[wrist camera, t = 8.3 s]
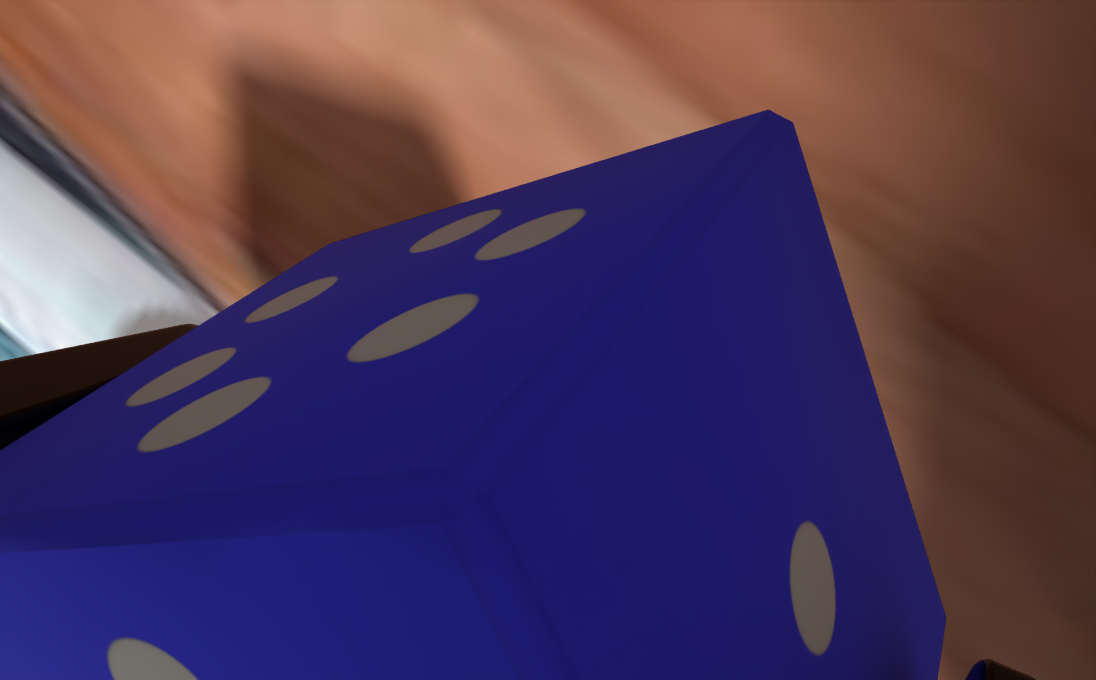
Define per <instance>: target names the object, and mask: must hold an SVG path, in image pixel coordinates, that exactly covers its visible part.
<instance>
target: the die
mask: <svg viewBox="0 0 1096 680" xmlns="http://www.w3.org/2000/svg"><path fill="white" fill-rule="evenodd" d="M945 623H946V615H945V612H944V609H943V605H942V602H941V599H940V596H939V592H938V589H937V586H936V583H935V580H934V576H933V573H932V570H931V567H930V563H929V560H928V557H927V554H926V550H925V547H924V544H923V541H922V538H921V534H920V531H919V528H918V525H917V521H916V518H915V515H914V512H913V508H912V505H911V502H910V499H909V496H908V492H907V489H906V486H905V483H904V479H903V476H902V473H901V470H900V466H899V463H898V460H897V457H896V454H895V450H894V447H893V444H892V441H891V437H890V434H889V431H888V428H887V424H886V421H885V418H884V415H883V412H882V408H881V405H880V402H879V399H878V395H877V392H876V389H875V386H874V382H873V379H872V376H871V373H870V370H869V366H868V363H867V360H866V357H865V353H864V350H863V347H862V344H861V340H860V337H859V334H858V331H857V328H856V324H855V321H854V318H853V315H852V311H851V308H850V305H849V302H848V299H847V295H846V292H845V289H844V286H843V282H842V279H841V276H840V273H839V269H838V266H837V263H836V260H835V257H834V253H833V250H832V247H831V244H830V240H829V237H828V234H827V231H826V227H825V224H824V221H823V218H822V215H821V211H820V208H819V205H818V202H817V198H816V195H815V192H814V189H813V185H812V182H811V179H810V176H809V173H808V169H807V166H806V163H805V160H804V156H803V153H802V150H801V147H800V143H799V140H798V137H797V134H796V131H795V127H794V124H793V122H791V121H789V120H787V119H785V118H783V117H782V116H780V115H778V114H776V113H774V112H772V111H770V110H766V111H762V112H759V113H756V114H752V115H749V116H746V117H743V118H739V119H736V120H733V121H730V122H726V123H723V124H720V125H716V126H713V127H710V128H707V129H703V130H700V131H697V132H694V133H690V134H687V135H684V136H680V137H677V138H674V139H671V140H667V141H664V142H661V143H658V144H654V145H651V146H648V147H644V148H641V149H638V150H635V151H631V152H628V153H625V154H621V155H618V156H615V157H612V158H608V159H605V160H602V161H599V162H595V163H592V164H589V165H585V166H582V167H579V168H576V169H572V170H569V171H566V172H563V173H559V174H556V175H553V176H549V177H546V178H543V179H540V180H536V181H533V182H530V183H527V184H523V185H520V186H517V187H513V188H510V189H507V190H504V191H500V192H497V193H494V194H491V195H487V196H484V197H481V198H477V199H474V200H471V201H468V202H464V203H461V204H458V205H454V206H451V207H448V208H445V209H441V210H438V211H435V212H432V213H428V214H425V215H422V216H418V217H415V218H412V219H409V220H405V221H402V222H399V223H396V224H392V225H389V226H386V227H382V228H379V229H376V230H373V231H369V232H366V233H363V234H360V235H356V236H353V237H350V238H346V239H343V240H340V241H337V242H333V243H330V244H328V245H327V246H325V247H323V248H322V249H320V250H319V251H317V252H315V253H314V254H312V255H311V256H309V257H307V258H306V259H304V260H303V261H301V262H299V263H298V264H296V265H295V266H293V267H292V268H290V269H288V270H287V271H285V272H284V273H282V274H280V275H279V276H277V277H276V278H274V279H272V280H271V281H269V282H268V283H266V284H264V285H263V286H261V287H260V288H258V289H256V290H255V291H253V292H252V293H250V294H249V295H247V296H245V297H244V298H242V299H241V300H239V301H237V302H236V303H234V304H233V305H231V306H229V307H228V308H226V309H225V310H223V311H221V312H220V313H218V314H217V315H215V316H214V317H212V318H210V319H209V320H207V321H206V322H204V323H202V324H201V325H199V326H198V327H196V328H194V329H193V330H191V331H190V332H188V333H186V334H185V335H183V336H182V337H180V338H178V339H177V340H175V341H174V342H172V343H171V344H169V345H167V346H166V347H164V348H163V349H161V350H159V351H158V352H156V353H155V354H153V355H151V356H150V357H148V358H147V359H145V360H143V361H142V362H140V363H139V364H137V365H135V366H134V367H132V368H131V369H129V370H128V371H126V372H124V373H123V374H121V375H120V376H118V377H116V378H115V379H113V380H112V381H110V382H108V383H107V384H105V385H104V386H102V387H100V388H99V389H97V390H96V391H94V392H93V393H91V394H89V395H88V396H86V397H85V398H83V399H81V400H80V401H78V402H77V403H75V404H73V405H72V406H70V407H69V408H67V409H65V410H64V411H62V412H61V413H59V414H57V415H56V416H54V417H53V418H51V419H50V420H48V421H46V422H45V423H43V424H42V425H40V426H38V427H37V428H35V429H34V430H32V431H30V432H29V433H27V434H26V435H24V436H22V437H21V438H19V439H18V440H16V441H14V442H13V443H11V444H10V445H8V446H7V447H5V448H3V449H2V450H0V680H937V679H938V672H939V665H940V658H941V651H942V644H943V637H944V630H945Z"/></svg>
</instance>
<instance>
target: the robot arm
mask: <svg viewBox="0 0 1096 680" xmlns="http://www.w3.org/2000/svg"><path fill="white" fill-rule="evenodd" d="M196 327H198V325H194V324H184V325H178V326H173V327H168V328H164V329H158V330H154V331H149V332H144V333H139V334H134V335H129V336H124V337H119V338H114V339H109V340H104V341H99V342H94V343H89V344H84V345H79V346H74V347H69V348H64V349H59V350H54V351H49V352H44V353H39V354H34V355H29V356H24V357H19V358H14V359H9V360H4V361H0V450H2V449H3V448H5V447H7V446H8V445H10V444H11V443H13V442H14V441H16V440H18V439H19V438H21V437H22V436H24V435H26V434H27V433H29V432H30V431H32V430H34V429H35V428H37V427H38V426H40V425H42V424H43V423H45V422H46V421H48V420H50V419H51V418H53V417H54V416H56V415H57V414H59V413H61V412H62V411H64V410H65V409H67V408H69V407H70V406H72V405H73V404H75V403H77V402H78V401H80V400H81V399H83V398H85V397H86V396H88V395H89V394H91V393H93V392H94V391H96V390H97V389H99V388H100V387H102V386H104V385H105V384H107V383H108V382H110V381H112V380H113V379H115V378H116V377H118V376H120V375H121V374H123V373H124V372H126V371H128V370H129V369H131V368H132V367H134V366H135V365H137V364H139V363H140V362H142V361H143V360H145V359H147V358H148V357H150V356H151V355H153V354H155V353H156V352H158V351H159V350H161V349H163V348H164V347H166V346H167V345H169V344H171V343H172V342H174V341H175V340H177V339H178V338H180V337H182V336H183V335H185V334H186V333H188V332H190V331H191V330H193V329H194V328H196ZM965 680H1036V679H1034V678H1033V677H1031V676H1028V675H1026V674H1024V673H1021V672H1019V671H1017V670H1014V669H1012V668H1010V667H1007V666H1005V665H1002V664H1000V663H998V662H995V661H993V660H989V659H985V660H980V661H979V662H977V663H976V664H975V665H974V666H973V668H972V669H971V670H970V672H969V674H968V675H967V677H966V679H965Z"/></svg>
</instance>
